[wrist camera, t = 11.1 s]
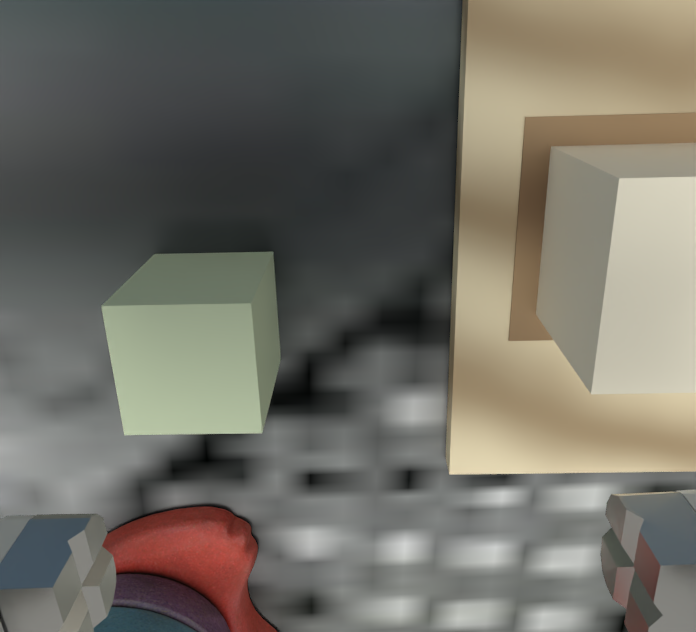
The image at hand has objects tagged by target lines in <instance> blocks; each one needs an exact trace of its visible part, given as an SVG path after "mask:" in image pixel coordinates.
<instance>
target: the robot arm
mask: <svg viewBox="0 0 696 632" xmlns="http://www.w3.org/2000/svg"><path fill="white" fill-rule="evenodd" d="M605 515H606V517H607V519H608V521H609V523H610V525H611V527H612V528H611V529H610V530H609V531H608V532H607V533H606V534H605V535H604V536H603V537H602V545H601V562H602V571H603V575H604V578H605V582H606V585H607V587H608V590H609V592H610V594H611V596H612V598H613V599H614V600H615V601H616V602H618V603H619V604H620V605H622V606H623V607H625V608H626V616H625V622H624V623H625V625H626V627H627V630H628V632H696V490H680V491H675V492H656V493H633V494H611V496H610V498H609V500H608V502H607V507H606V513H605ZM107 534H108V533H107V530H106V526H105V523H104V519H103V517H101V516H100V515H98V514H50V515H36V516H35V515H18V516H6V517H4V518H2V519H0V632H94V629H93V628H94V627H95V626H97V625H98V624H99V623H100V622H101V621H103V620H104V619H105V618H106V617H107V616H108V613H109V610H110V608H111V605H112V603H113V599H114V593H115V587H116V567H115V562H114V558H113V555H112V554H111V553H110V552H108V551H107V550H106V549H105V548H104V547H103V546H102V544H103V542H104V540H105V538H106V536H107Z"/></svg>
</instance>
